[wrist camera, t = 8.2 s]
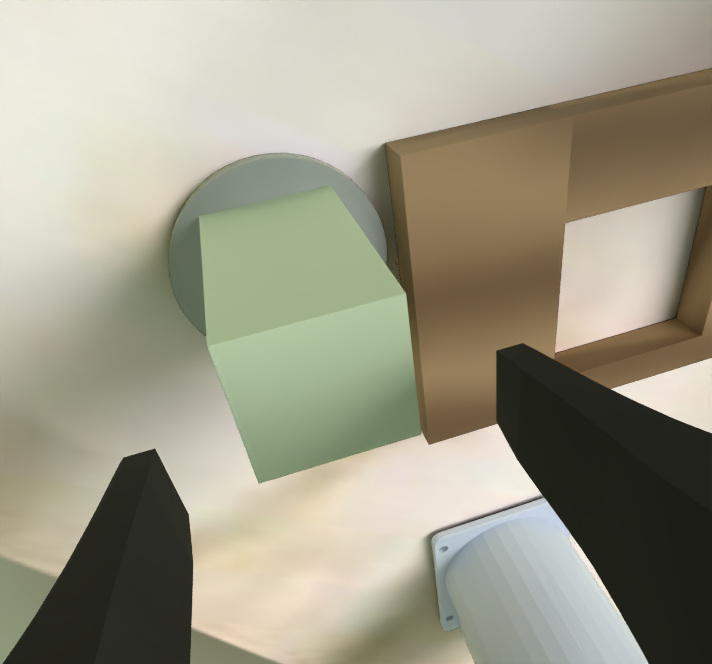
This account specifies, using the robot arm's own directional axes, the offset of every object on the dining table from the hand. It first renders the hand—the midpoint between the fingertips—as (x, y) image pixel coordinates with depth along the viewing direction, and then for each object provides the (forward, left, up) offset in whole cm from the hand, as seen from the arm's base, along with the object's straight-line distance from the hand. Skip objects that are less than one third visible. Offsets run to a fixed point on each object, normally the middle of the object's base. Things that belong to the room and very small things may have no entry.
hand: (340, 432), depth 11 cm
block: (0, 0, -8) cm, 8 cm away
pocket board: (-3, -12, -8) cm, 15 cm away
